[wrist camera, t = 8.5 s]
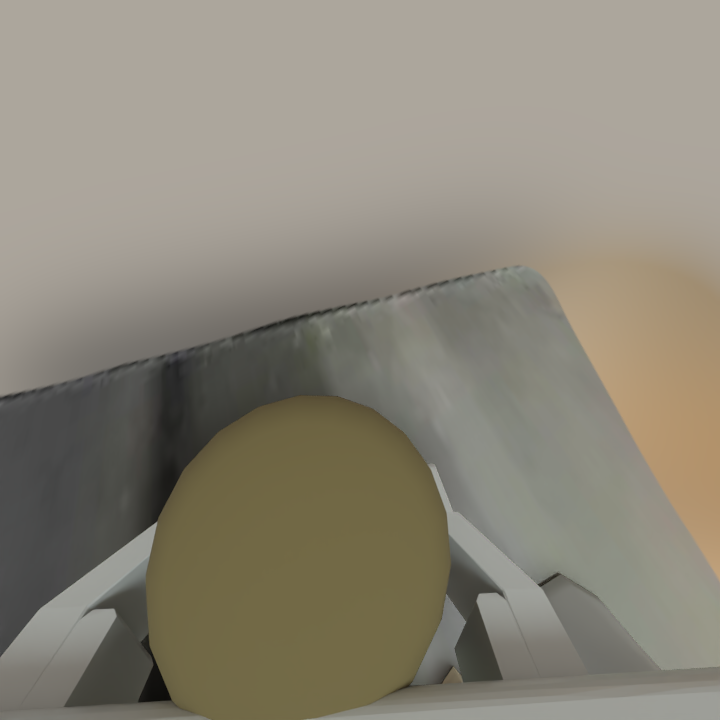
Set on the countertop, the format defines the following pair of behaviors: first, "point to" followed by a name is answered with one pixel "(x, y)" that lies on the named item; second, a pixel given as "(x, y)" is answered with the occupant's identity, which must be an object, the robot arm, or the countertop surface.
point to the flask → (595, 630)
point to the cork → (297, 565)
